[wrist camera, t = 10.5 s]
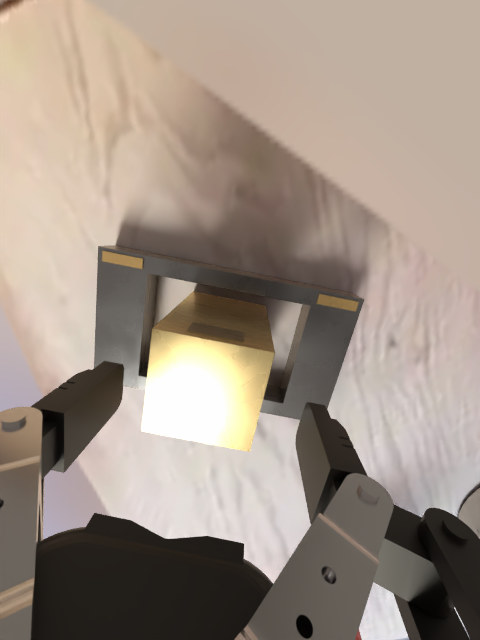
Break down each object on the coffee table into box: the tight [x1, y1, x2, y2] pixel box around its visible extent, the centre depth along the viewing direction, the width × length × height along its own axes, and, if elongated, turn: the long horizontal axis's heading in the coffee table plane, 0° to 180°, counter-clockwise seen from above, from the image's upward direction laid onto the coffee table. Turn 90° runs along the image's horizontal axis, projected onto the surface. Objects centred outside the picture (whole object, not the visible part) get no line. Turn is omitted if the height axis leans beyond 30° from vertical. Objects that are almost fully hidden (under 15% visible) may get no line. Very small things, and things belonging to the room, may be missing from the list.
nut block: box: [142, 291, 275, 452], centre depth 15 cm, size 5×5×8 cm
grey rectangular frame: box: [94, 246, 364, 420], centre depth 18 cm, size 16×9×2 cm, turn 79°
